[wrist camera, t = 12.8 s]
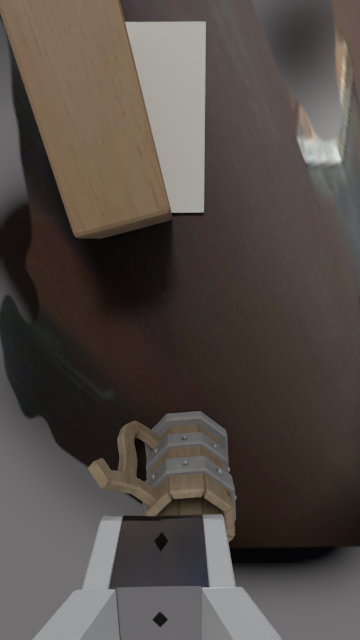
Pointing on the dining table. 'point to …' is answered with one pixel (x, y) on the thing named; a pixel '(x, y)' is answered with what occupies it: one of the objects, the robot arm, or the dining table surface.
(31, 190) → the dining table surface
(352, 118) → the dining table surface
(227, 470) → the tankard
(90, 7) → the wooden block
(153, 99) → the mat
